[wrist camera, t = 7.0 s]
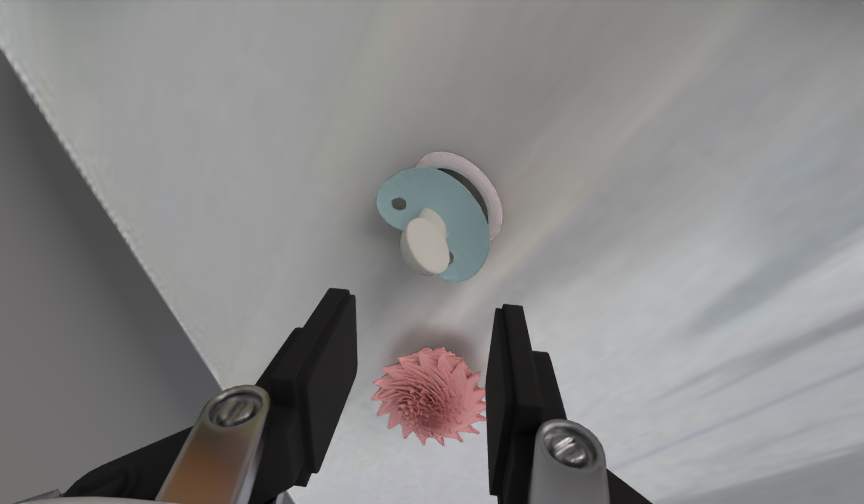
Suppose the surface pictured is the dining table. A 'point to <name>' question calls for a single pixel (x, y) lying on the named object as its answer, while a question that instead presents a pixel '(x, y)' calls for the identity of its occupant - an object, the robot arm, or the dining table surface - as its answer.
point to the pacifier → (442, 216)
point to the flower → (431, 395)
